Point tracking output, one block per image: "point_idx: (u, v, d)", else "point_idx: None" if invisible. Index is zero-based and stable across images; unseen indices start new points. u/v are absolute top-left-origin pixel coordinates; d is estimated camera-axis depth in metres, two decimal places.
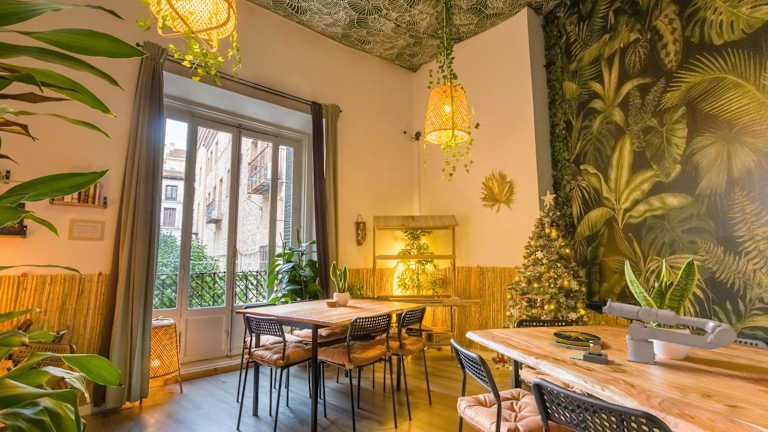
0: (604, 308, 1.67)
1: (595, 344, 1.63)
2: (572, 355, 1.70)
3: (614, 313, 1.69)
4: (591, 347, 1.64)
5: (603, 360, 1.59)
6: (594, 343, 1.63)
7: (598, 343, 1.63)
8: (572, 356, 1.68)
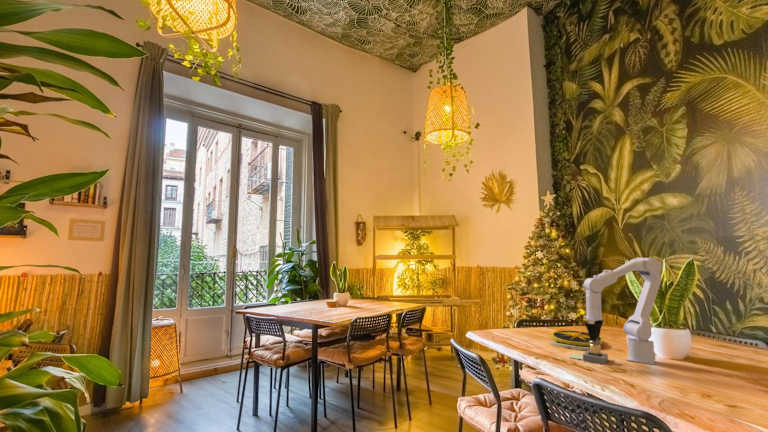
0: (589, 322, 1.60)
1: (595, 344, 1.63)
2: (572, 355, 1.70)
3: (597, 313, 1.63)
4: (591, 347, 1.64)
5: (603, 360, 1.59)
6: (594, 343, 1.63)
7: (598, 343, 1.63)
8: (572, 356, 1.68)
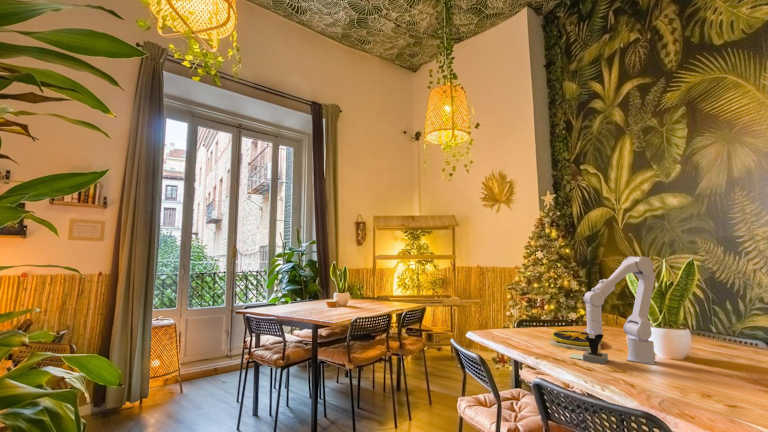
0: (590, 336, 1.60)
1: None
2: (572, 355, 1.70)
3: (597, 326, 1.63)
4: None
5: (603, 360, 1.59)
6: None
7: None
8: (572, 356, 1.68)
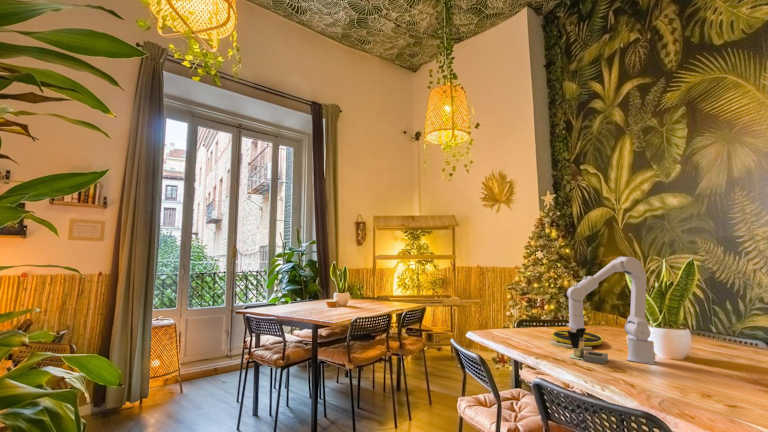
0: (571, 330, 1.64)
1: None
2: (572, 355, 1.70)
3: (579, 321, 1.67)
4: None
5: (603, 360, 1.59)
6: None
7: (581, 340, 1.67)
8: (572, 356, 1.68)
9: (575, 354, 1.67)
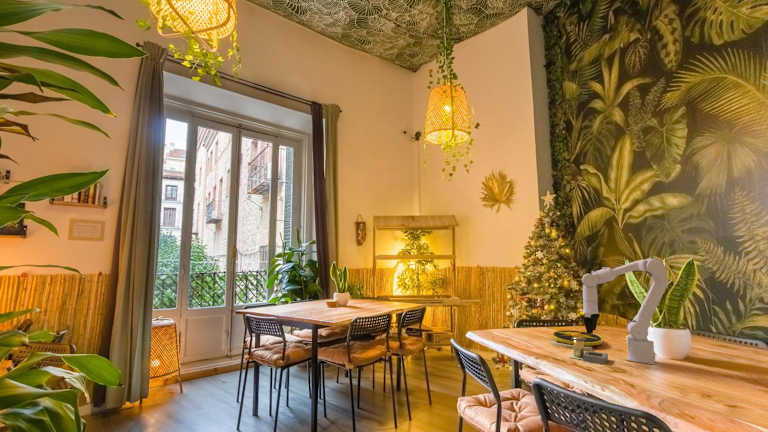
0: (586, 315, 1.68)
1: (578, 341, 1.67)
2: (572, 355, 1.70)
3: (593, 306, 1.71)
4: (575, 344, 1.68)
5: (603, 360, 1.59)
6: (577, 340, 1.67)
7: (581, 340, 1.67)
8: (572, 356, 1.68)
9: (575, 354, 1.67)
